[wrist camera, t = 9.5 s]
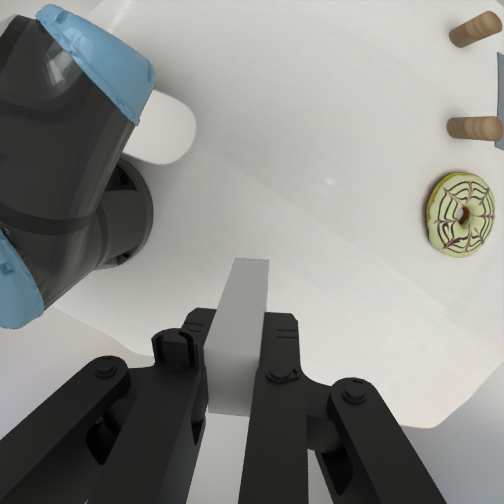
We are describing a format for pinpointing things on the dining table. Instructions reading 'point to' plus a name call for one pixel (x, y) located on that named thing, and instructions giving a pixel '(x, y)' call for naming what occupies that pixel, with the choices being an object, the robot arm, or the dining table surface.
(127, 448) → the robot arm
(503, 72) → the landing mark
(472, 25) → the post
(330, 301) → the dining table surface
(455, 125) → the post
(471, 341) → the dining table surface
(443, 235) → the decorated donut
